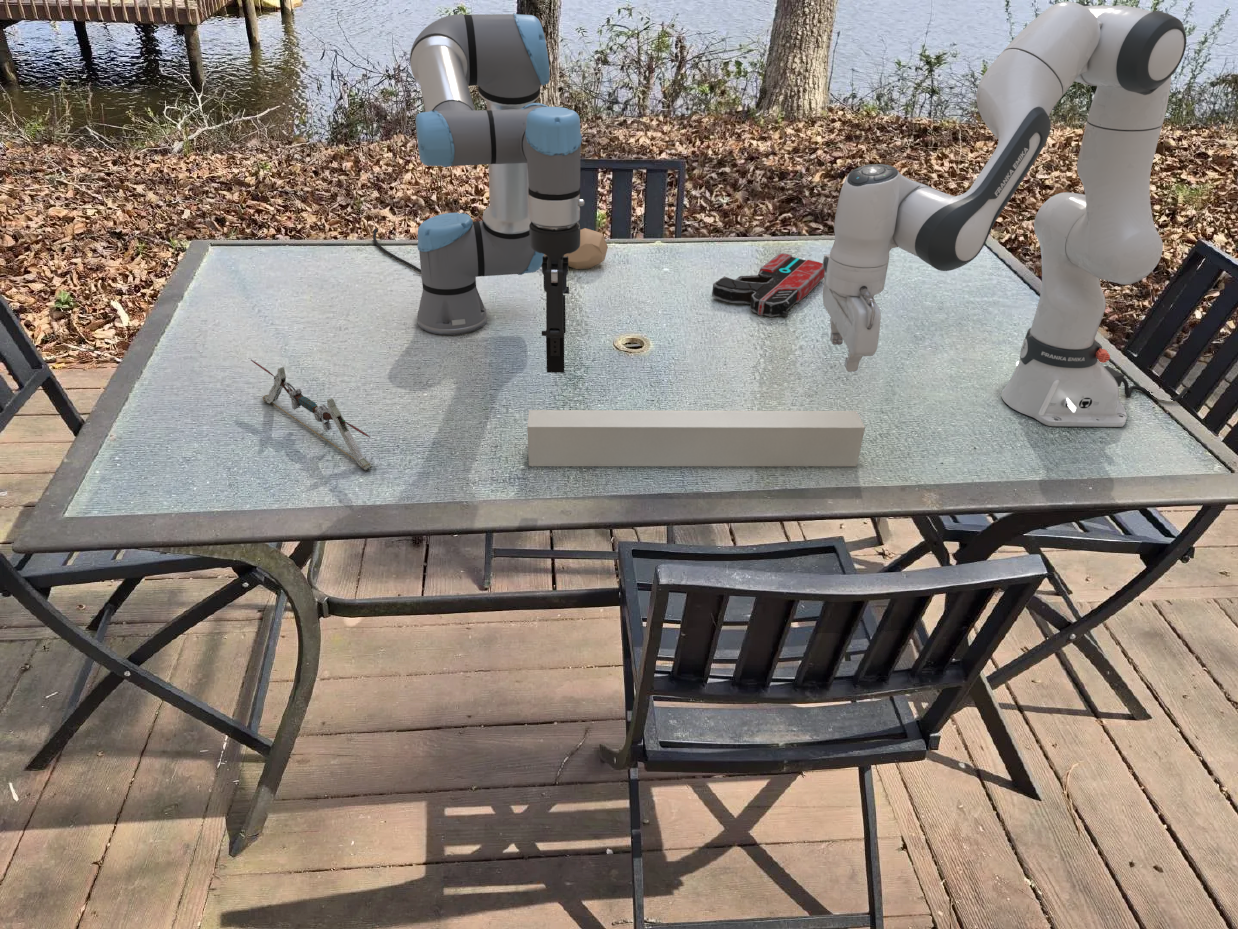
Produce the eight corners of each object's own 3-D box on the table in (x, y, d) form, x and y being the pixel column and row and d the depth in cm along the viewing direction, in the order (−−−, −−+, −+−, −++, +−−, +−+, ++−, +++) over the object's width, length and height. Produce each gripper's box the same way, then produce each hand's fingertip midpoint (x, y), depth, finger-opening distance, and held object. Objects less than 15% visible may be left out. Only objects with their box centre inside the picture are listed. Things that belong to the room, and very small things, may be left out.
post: (528, 466, 149) (527, 426, 145) (530, 448, 154) (528, 409, 150) (857, 466, 152) (865, 427, 148) (848, 449, 157) (856, 410, 152)
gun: (708, 284, 207) (784, 305, 199) (760, 245, 229) (831, 262, 221) (706, 302, 209) (781, 323, 201) (758, 261, 231) (828, 278, 223)
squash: (609, 272, 224) (605, 241, 218) (532, 279, 226) (525, 248, 219) (610, 251, 232) (605, 220, 226) (535, 258, 233) (529, 227, 227)
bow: (382, 473, 146) (374, 421, 141) (372, 477, 145) (364, 425, 140) (264, 393, 168) (253, 345, 162) (255, 396, 167) (243, 348, 161)
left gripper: (580, 253, 119) (580, 389, 131) (580, 195, 139) (579, 317, 151) (524, 252, 118) (529, 389, 130) (532, 194, 139) (536, 317, 151)
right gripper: (896, 302, 127) (880, 386, 134) (859, 251, 143) (846, 328, 151) (853, 303, 126) (839, 387, 134) (820, 252, 143) (810, 329, 151)
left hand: (556, 351), depth 141 cm, fingers open, 13 cm apart
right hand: (843, 355), depth 143 cm, fingers open, 8 cm apart
